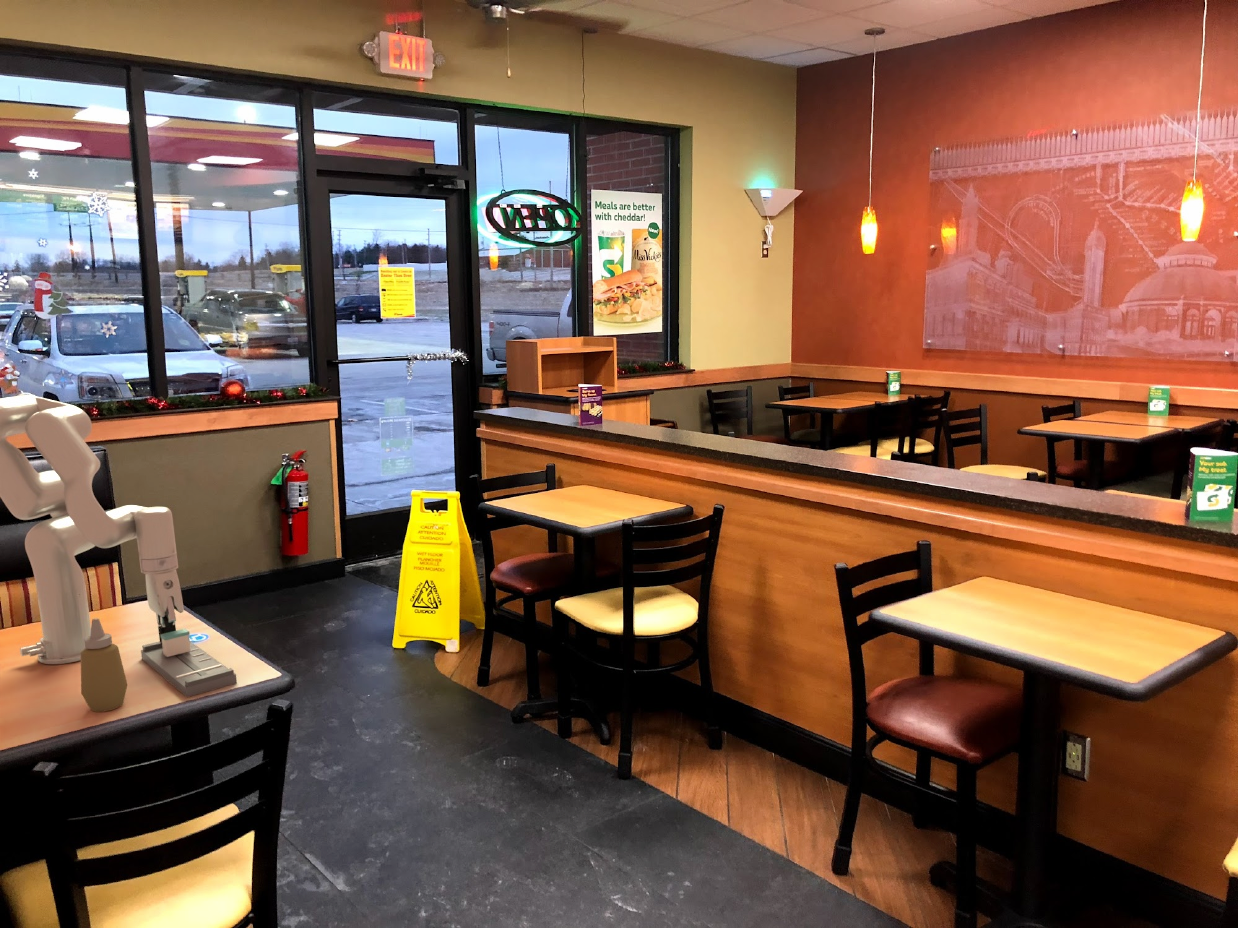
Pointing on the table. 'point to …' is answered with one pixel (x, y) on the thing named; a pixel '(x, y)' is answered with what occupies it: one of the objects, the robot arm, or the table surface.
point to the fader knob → (175, 642)
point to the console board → (189, 669)
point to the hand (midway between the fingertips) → (168, 642)
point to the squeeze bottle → (102, 671)
